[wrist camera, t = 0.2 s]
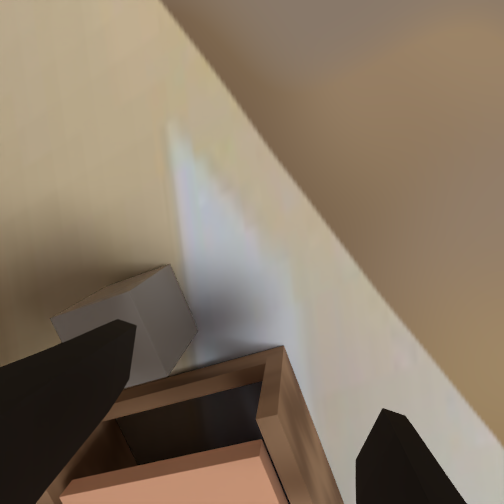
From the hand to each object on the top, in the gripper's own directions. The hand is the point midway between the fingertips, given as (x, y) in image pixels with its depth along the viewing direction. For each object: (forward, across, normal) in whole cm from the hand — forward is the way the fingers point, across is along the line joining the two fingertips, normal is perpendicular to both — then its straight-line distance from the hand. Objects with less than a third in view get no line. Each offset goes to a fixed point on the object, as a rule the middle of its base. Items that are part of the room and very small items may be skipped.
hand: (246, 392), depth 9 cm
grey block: (+10, +7, +5) cm, 13 cm away
